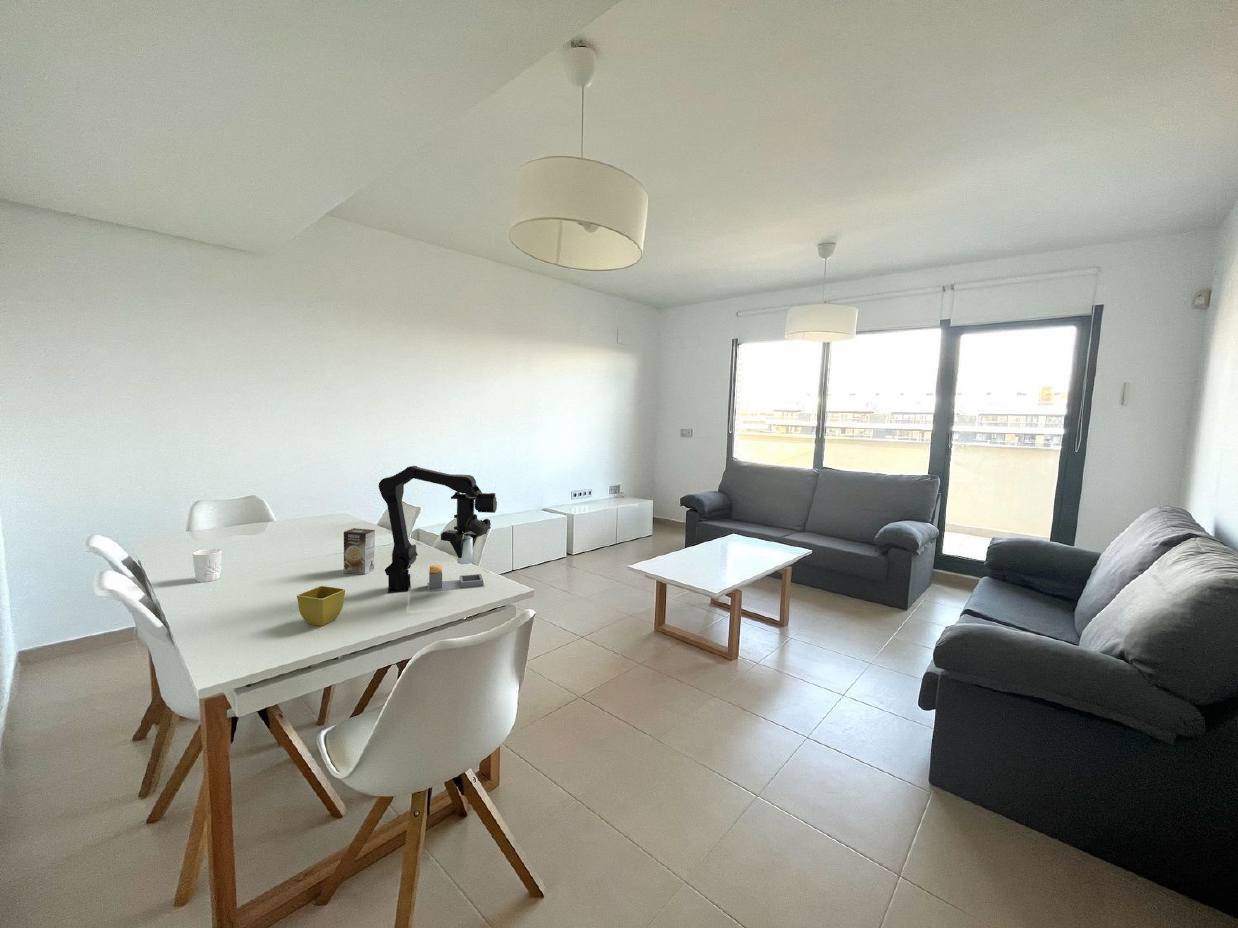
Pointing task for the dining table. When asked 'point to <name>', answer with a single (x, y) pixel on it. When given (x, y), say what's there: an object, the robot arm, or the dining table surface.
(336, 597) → the flower pot
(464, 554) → the cylinder
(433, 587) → the gray holder stand
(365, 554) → the coffee box
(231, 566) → the dining table surface
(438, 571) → the yellow rounded piece
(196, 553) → the white cup
